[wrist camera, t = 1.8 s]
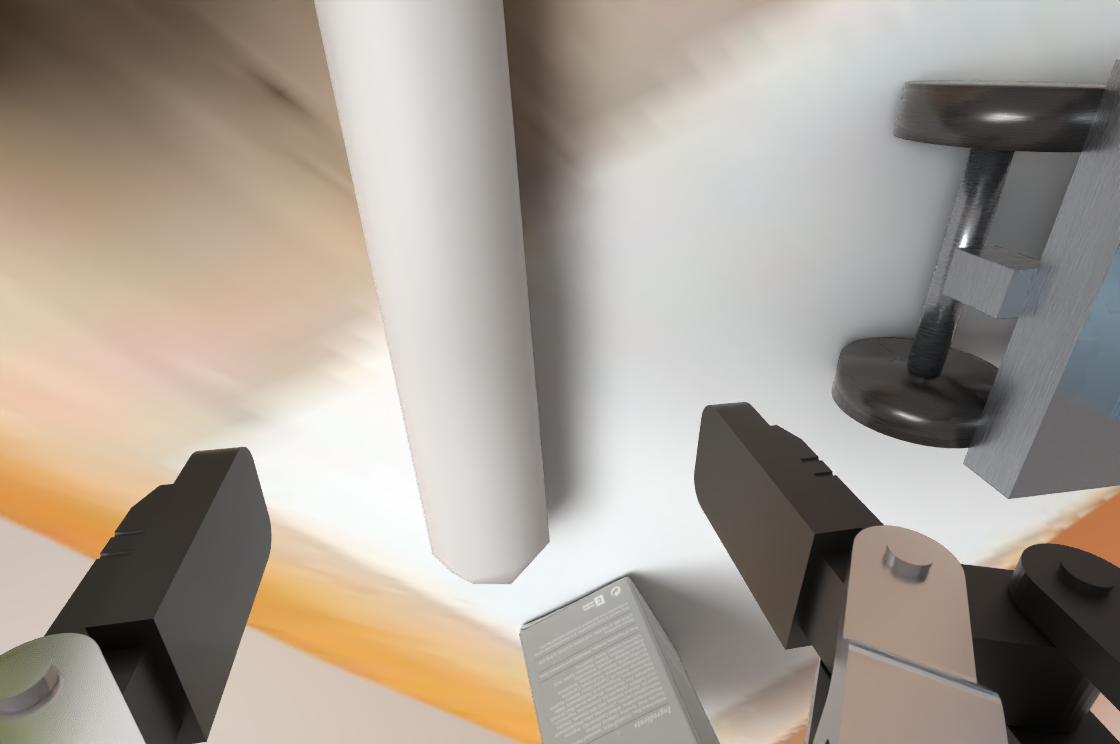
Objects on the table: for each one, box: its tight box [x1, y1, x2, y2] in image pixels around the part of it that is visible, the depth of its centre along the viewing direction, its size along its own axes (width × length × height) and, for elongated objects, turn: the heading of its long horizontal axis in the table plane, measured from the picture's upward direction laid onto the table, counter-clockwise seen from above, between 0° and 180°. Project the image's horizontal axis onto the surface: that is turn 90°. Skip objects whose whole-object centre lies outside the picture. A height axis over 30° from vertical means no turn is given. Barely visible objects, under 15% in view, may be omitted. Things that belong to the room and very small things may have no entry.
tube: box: [314, 0, 550, 584], centre depth 20 cm, size 5×5×25 cm
